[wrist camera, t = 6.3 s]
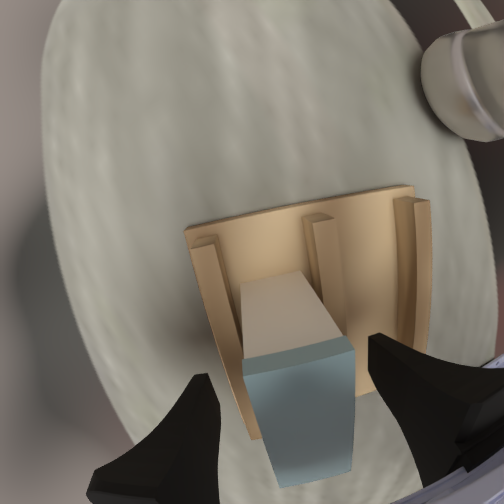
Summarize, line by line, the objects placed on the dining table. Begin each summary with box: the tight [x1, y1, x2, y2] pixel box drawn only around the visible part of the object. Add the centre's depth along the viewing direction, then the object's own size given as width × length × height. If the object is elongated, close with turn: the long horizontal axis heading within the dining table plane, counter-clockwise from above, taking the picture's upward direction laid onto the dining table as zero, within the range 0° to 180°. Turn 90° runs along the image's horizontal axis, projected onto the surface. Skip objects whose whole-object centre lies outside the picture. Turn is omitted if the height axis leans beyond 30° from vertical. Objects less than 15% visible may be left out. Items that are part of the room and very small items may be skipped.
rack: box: [184, 185, 432, 440], centre depth 14 cm, size 12×13×3 cm
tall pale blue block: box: [240, 271, 355, 488], centre depth 11 cm, size 3×7×7 cm, turn 11°
